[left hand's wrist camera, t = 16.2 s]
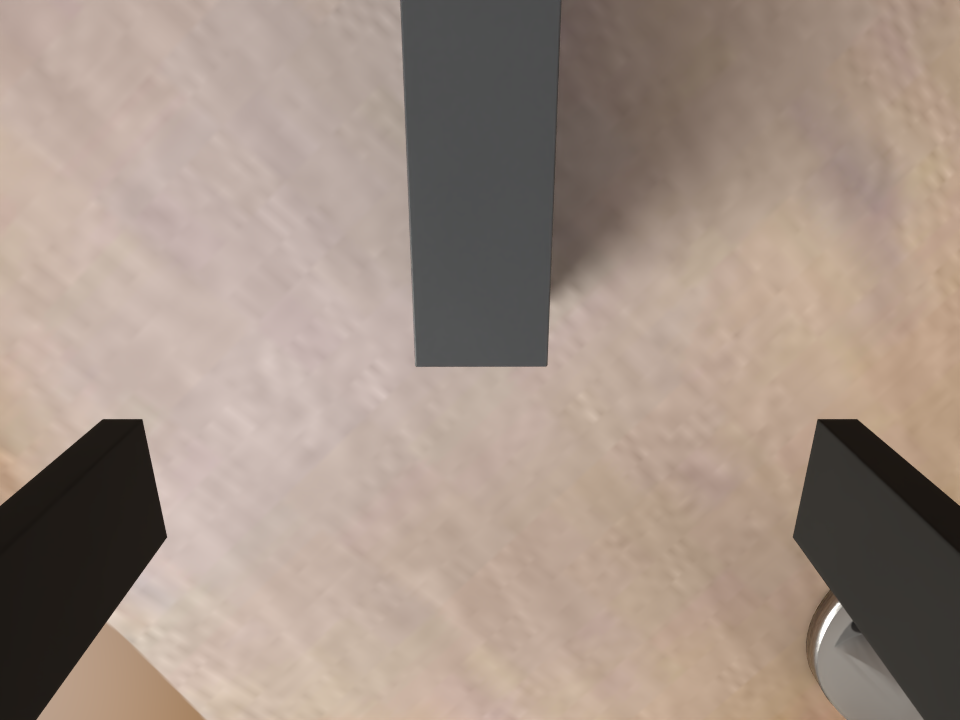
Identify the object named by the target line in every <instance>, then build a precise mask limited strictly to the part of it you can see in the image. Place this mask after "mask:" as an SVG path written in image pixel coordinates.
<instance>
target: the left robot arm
mask: <svg viewBox="0 0 960 720" xmlns="http://www.w3.org/2000/svg"><path fill="white" fill-rule="evenodd" d="M166 538H167V534H166V530H165V525H164V520H163V515H162V511H161V506H160V501H159V496H158V492H157V487H156V482H155V477H154V473H153V468H152V463H151V458H150V454H149V449H148V444H147V439H146V435H145V430H144V425H143V420H142V419H103V420H101V421H100V422H99V423H98V424H97V425H96V426H94V427H93V428H92V429H91V430H90V431H88V432H87V433H86V434H85V435H84V436H83V437H81V438H80V439H79V440H78V441H77V442H75V443H74V444H73V445H72V446H71V447H69V448H68V449H67V450H66V451H65V452H64V453H62V454H61V455H60V456H59V457H58V458H56V459H55V460H54V461H53V462H52V463H51V464H49V465H48V466H47V467H46V468H45V469H43V470H42V471H41V472H40V473H39V474H38V475H36V476H35V477H34V478H33V479H32V480H30V481H29V482H28V483H27V484H26V485H25V486H23V487H22V488H21V489H20V490H19V491H17V492H16V493H15V494H14V495H13V496H11V497H10V498H9V499H8V500H7V501H6V502H4V503H3V504H2V505H1V506H0V720H36V719H37V718H38V717H39V715H40V714H41V712H42V711H43V710H44V708H45V707H46V705H47V704H48V703H49V701H50V700H51V698H52V697H53V696H54V694H55V693H56V691H57V690H58V689H59V687H60V686H61V685H62V683H63V682H64V680H65V679H66V678H67V676H68V675H69V673H70V672H71V671H72V669H73V668H74V666H75V665H76V664H77V662H78V661H79V659H80V658H81V657H82V655H83V654H84V652H85V651H86V650H87V648H88V647H89V645H90V644H91V643H92V641H93V640H94V638H95V637H96V636H97V634H98V633H99V632H100V630H101V629H102V627H103V626H104V625H105V623H106V622H107V620H108V619H109V618H110V616H111V615H112V613H113V612H114V611H115V609H116V608H117V606H118V605H119V604H120V602H121V601H122V599H123V598H124V597H125V595H126V594H127V592H128V591H129V590H130V588H131V587H132V585H133V584H134V583H135V581H136V580H137V579H138V577H139V576H140V574H141V573H142V572H143V570H144V569H145V567H146V566H147V565H148V563H149V562H150V560H151V559H152V558H153V556H154V555H155V553H156V552H157V551H158V549H159V548H160V546H161V545H162V544H163V542H164V541H165V539H166ZM793 538H794V539H795V541H796V542H797V544H798V545H799V546H800V548H801V549H802V551H803V552H804V553H805V555H806V556H807V558H808V559H809V560H810V562H811V563H812V565H813V566H814V567H815V569H816V570H817V572H818V573H819V574H820V576H821V577H822V579H823V580H824V581H825V583H826V584H827V585H828V587H829V588H830V591H829V592H828V594H827V595H826V596H825V597H824V599H823V600H822V602H821V603H820V605H819V606H818V608H817V610H816V612H815V614H814V616H813V618H812V621H811V623H810V626H809V630H808V634H807V641H806V652H807V659H808V663H809V666H810V669H811V671H812V673H813V675H814V677H815V679H816V680H817V682H818V684H819V685H820V687H821V689H822V691H823V692H824V694H825V696H826V697H827V699H828V700H829V701H830V702H831V704H832V705H833V706H834V707H835V708H836V709H837V710H838V712H839V713H840V714H841V715H842V716H843V717H845V718H846V719H847V720H960V506H959V505H958V504H957V503H956V502H954V501H953V500H952V499H951V498H950V497H949V496H947V495H946V494H945V493H944V492H943V491H941V490H940V489H939V488H938V487H937V486H935V485H934V484H933V483H932V482H931V481H930V480H928V479H927V478H926V477H925V476H924V475H922V474H921V473H920V472H919V471H918V470H917V469H915V468H914V467H913V466H912V465H911V464H909V463H908V462H907V461H906V460H905V459H904V458H902V457H901V456H900V455H899V454H898V453H896V452H895V451H894V450H893V449H892V448H891V447H889V446H888V445H887V444H886V443H885V442H883V441H882V440H881V439H880V438H879V437H877V436H876V435H875V434H874V433H873V432H872V431H870V430H869V429H868V428H867V427H866V426H864V425H863V424H862V423H861V422H860V421H859V420H857V419H818V420H817V425H816V430H815V435H814V439H813V444H812V449H811V454H810V458H809V463H808V468H807V473H806V477H805V482H804V487H803V492H802V496H801V501H800V506H799V511H798V515H797V520H796V525H795V530H794V534H793Z"/></svg>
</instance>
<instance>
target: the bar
mask: <svg viewBox="0 0 960 720" xmlns="http://www.w3.org/2000/svg"><path fill="white" fill-rule="evenodd" d="M400 5H401V30H402V54H403V79H404V103H405V128H406V152H407V176H408V201H409V225H410V250H411V274H412V299H413V323H414V348H415V366H416V367H545V366H547V361H548V335H549V309H550V283H551V257H552V231H553V205H554V179H555V153H556V127H557V101H558V75H559V49H560V23H561V0H400Z"/></svg>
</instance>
